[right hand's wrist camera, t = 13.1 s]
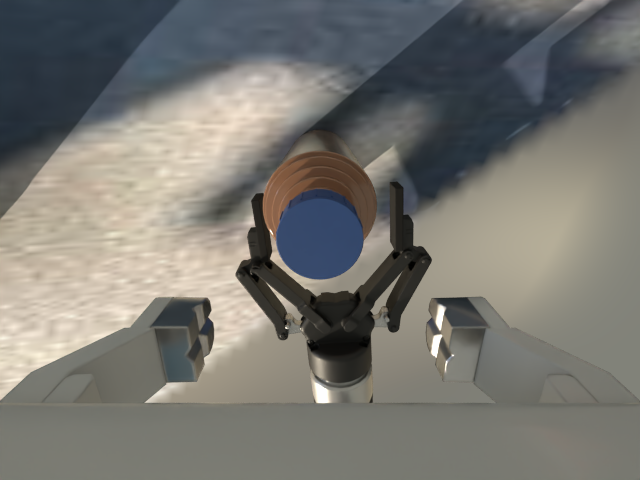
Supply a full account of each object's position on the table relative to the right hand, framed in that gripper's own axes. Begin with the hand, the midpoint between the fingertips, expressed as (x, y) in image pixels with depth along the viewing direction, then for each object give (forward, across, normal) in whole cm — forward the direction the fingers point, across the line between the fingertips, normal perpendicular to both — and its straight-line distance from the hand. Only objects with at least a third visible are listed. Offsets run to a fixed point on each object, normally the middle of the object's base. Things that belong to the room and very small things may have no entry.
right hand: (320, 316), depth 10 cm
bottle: (+30, 0, 0) cm, 30 cm away
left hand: (+24, -1, +2) cm, 24 cm away
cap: (+7, 0, 0) cm, 7 cm away
